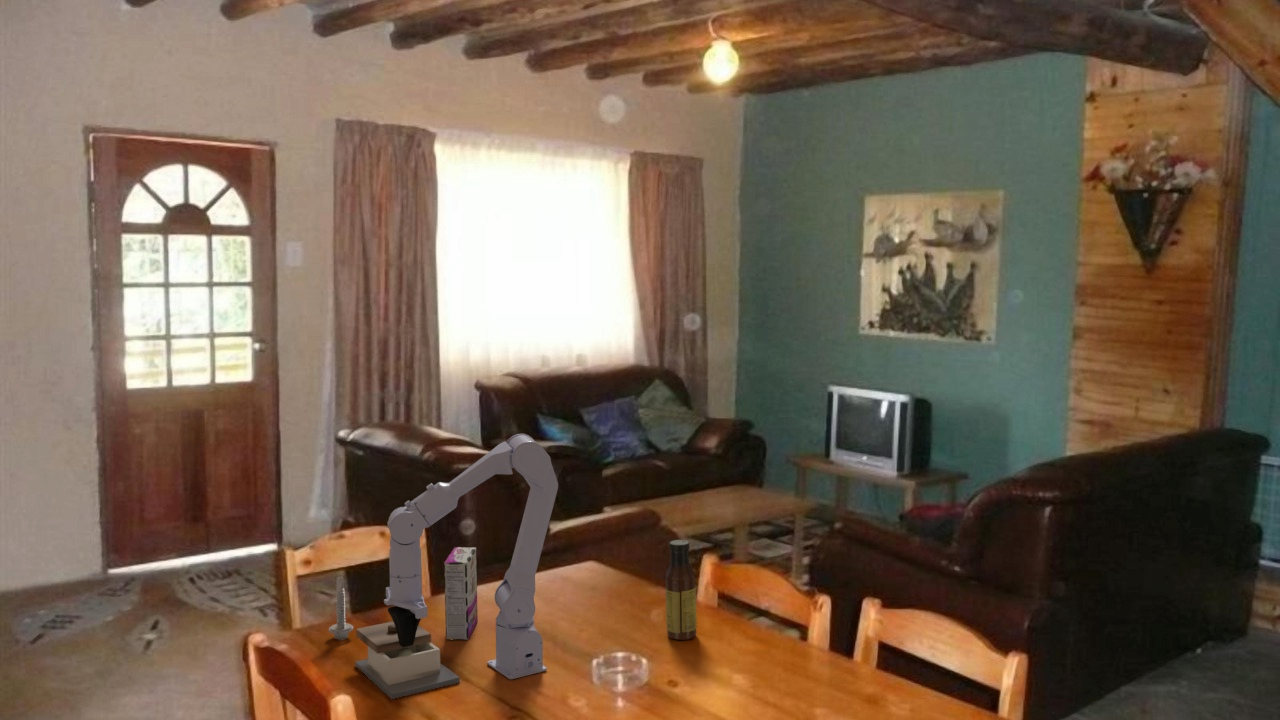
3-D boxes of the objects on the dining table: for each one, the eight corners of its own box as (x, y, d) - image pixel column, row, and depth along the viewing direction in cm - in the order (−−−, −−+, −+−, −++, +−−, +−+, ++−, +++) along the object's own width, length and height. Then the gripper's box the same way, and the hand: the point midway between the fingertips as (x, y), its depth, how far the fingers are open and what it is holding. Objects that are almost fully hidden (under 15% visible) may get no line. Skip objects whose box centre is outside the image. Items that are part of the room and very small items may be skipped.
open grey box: (440, 672, 195) (440, 649, 194) (388, 685, 189) (388, 660, 188) (418, 655, 203) (417, 633, 202) (368, 667, 197) (367, 643, 196)
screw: (354, 633, 217) (352, 641, 212) (330, 634, 216) (327, 642, 212) (353, 571, 216) (350, 579, 211) (329, 572, 215) (325, 580, 210)
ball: (416, 665, 196) (415, 649, 196) (400, 668, 194) (400, 652, 194) (409, 660, 198) (409, 644, 198) (394, 663, 197) (394, 647, 196)
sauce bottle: (697, 631, 220) (698, 538, 218) (695, 642, 214) (697, 546, 212) (666, 629, 220) (667, 537, 218) (663, 640, 214) (664, 545, 212)
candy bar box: (454, 621, 225) (454, 546, 223) (478, 621, 224) (477, 546, 223) (443, 640, 213) (443, 561, 212) (468, 641, 213) (467, 562, 212)
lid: (431, 641, 198) (430, 628, 198) (377, 653, 192) (377, 640, 191) (408, 625, 206) (408, 613, 206) (356, 636, 200) (356, 623, 200)
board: (459, 682, 193) (459, 677, 192) (392, 699, 185) (392, 694, 185) (419, 652, 207) (419, 647, 207) (355, 666, 200) (355, 661, 200)
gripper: (369, 567, 196) (371, 637, 197) (400, 587, 184) (401, 662, 186) (405, 561, 200) (406, 630, 202) (438, 580, 188) (438, 654, 190)
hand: (406, 645), depth 194 cm, fingers closed
